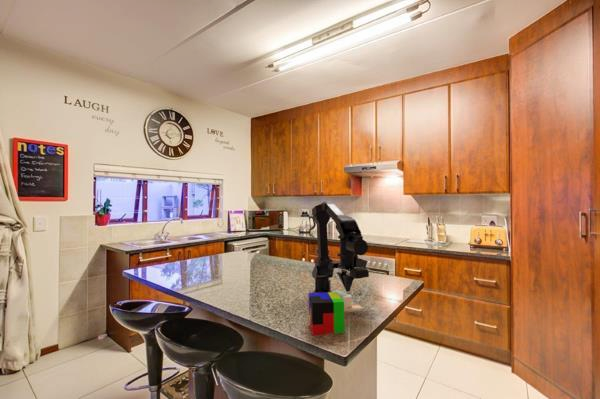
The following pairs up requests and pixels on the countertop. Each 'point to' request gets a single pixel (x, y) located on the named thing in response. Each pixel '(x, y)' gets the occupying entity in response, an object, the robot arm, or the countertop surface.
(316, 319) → the puzzle toy
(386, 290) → the countertop surface
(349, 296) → the pillar
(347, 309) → the mat
